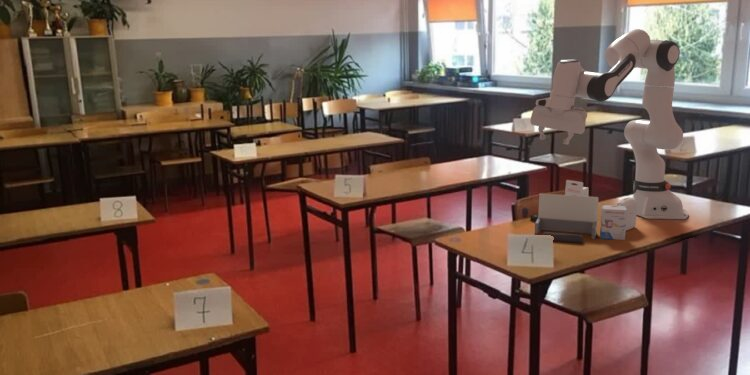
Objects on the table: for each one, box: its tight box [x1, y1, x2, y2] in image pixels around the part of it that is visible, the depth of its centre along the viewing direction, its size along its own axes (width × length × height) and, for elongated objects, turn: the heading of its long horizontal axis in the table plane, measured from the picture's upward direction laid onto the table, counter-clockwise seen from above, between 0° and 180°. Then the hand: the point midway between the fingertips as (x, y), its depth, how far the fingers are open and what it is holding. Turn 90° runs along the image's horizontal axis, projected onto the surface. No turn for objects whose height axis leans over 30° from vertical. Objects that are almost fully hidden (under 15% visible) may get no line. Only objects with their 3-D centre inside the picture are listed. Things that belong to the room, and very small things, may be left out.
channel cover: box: [537, 193, 599, 223], centre depth 247 cm, size 22×10×1 cm
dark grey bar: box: [541, 231, 585, 244], centre depth 236 cm, size 15×3×3 cm, turn 67°
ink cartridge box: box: [564, 179, 590, 197], centre depth 269 cm, size 9×5×15 cm, turn 42°
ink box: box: [599, 204, 627, 241], centre depth 237 cm, size 9×5×12 cm, turn 75°
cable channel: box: [534, 218, 598, 240], centre depth 244 cm, size 22×8×4 cm, turn 67°
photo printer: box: [615, 197, 637, 232], centre depth 246 cm, size 10×4×12 cm, turn 129°
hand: (553, 141), depth 233 cm, fingers open, 8 cm apart
